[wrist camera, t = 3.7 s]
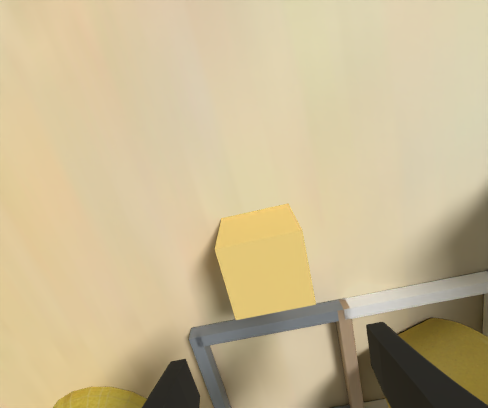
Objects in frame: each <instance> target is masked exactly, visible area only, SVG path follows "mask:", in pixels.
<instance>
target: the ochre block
mask: <svg viewBox="0 0 488 408" xmlns="http://www.w3.org/2000/svg"><path fill="white" fill-rule="evenodd" d="M215 252H216V256H217V259H218V262H219V266H220V269H221V272H222V276H223V279H224V282H225V286H226V289H227V292H228V296H229V299H230V302H231V306H232V309H233V312H234V316H235V319H236V320H240V319H245V318H250V317H255V316H260V315H265V314H270V313H276V312H281V311H286V310H291V309H296V308H301V307H306V306H311V305H316V302H315V296H314V291H313V285H312V280H311V275H310V269H309V264H308V259H307V253H306V248H305V242H304V237H303V232H302V229H301V227H300V225H299V223H298V221H297V219H296V217H295V215H294V214H293V212H292V210H291V208H290V206H289V204H284V205H279V206H275V207H270V208H266V209H261V210H257V211H252V212H248V213H243V214H239V215H234V216H230V217H226V218H222V219H221V223H220V228H219V232H218V236H217V241H216V245H215Z"/></svg>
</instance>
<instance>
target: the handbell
mask: <svg viewBox="0 0 488 408" xmlns="http://www.w3.org/2000/svg"><path fill="white" fill-rule="evenodd" d="M146 400H147V399H146V398H144V397H142V396H140V395H138V394H136V393H134V392H131V391H127V390H123V389H118V388H114V387H88V388H85V389H81V390H77V391H73V392H71V393H69V394H68V395H66V396H65V397H63V398H61V399H60V400H58V401H57V403H56V404H55V406H54V407H53V408H142V406H143V405H144V403H145V402H146Z"/></svg>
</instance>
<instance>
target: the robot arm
mask: <svg viewBox="0 0 488 408" xmlns="http://www.w3.org/2000/svg"><path fill="white" fill-rule="evenodd" d="M366 328H367V336H368V343H369V351H370V359H371V366H372V368H373V370H374V373H375V375H376V377H377V380H378V382H379V384H380V386H381V389H382V391H383V393H384V395H385V397H386V399H387V401H388V403H389V405H390V406H391V408H488V405H487V404H486V403H484V402H483V401H481V400H480V399H478V398H477V397H476V396H474V395H473V394H471V393H470V392H469V391H467V390H466V389H465V388H463V387H462V386H460V385H459V384H458V383H456V382H455V381H454V380H452V379H451V378H450V377H448V376H447V375H446V374H445V373H443V372H442V371H441V370H439V369H438V368H437V367H436V366H434V365H433V364H432V363H431V362H429V361H428V360H427V359H426V358H424V357H423V356H422V355H421V354H420V353H418V352H417V351H416V350H415V349H414V348H412V347H411V346H410V345H409V344H408V343H407V342H405V341H404V340H403V339H402V338H401V337H400V336H399V335H397V334H396V333H395V332H394V331H393V330H392V329H391V328H390V327H388V326H387V325H386V324H385V323H383V322H379V323H373V324H368V325H366ZM199 403H200V395H199V392H198V390H197V387H196V385H195V382H194V379H193V377H192V374H191V372H190V369H189V367H188V364H187V362H186V359H182V360H177V361H172V362H170V364H169V365H168V367H167V368H166V370H165V372H164V373H163V375H162V376H161V378H160V380H159V381H158V383H157V384H156V386H155V388H154V389H153V391H152V392H151V394H150V396H149V397H148V399H147V400H146V402H145V403H144V405H143V406H142V408H199Z"/></svg>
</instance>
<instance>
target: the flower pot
mask: <svg viewBox="0 0 488 408" xmlns="http://www.w3.org/2000/svg"><path fill="white" fill-rule="evenodd" d="M398 335H399V336H400V337H401V338H402V339H403V340H404V341H405V342H407V343H408V344H409V345H410V346H411V347H412V348H414V349H415V350H416V351H417V352H418V353H420V354H421V355H422V356H423V357H424V358H426V359H427V360H428V361H429V362H431V363H432V364H433V365H434V366H436V367H437V368H438V369H439V370H441V371H442V372H443V373H445V374H446V375H447V376H448V377H450V378H451V379H452V380H454V381H455V382H456V383H458V384H459V385H460V386H462V387H463V388H465V389H466V390H467V391H469V392H470V393H471V394H473V395H474V396H476V397H477V398H478V399H480V400H481V401H483V402H484V403H486V404H487V405H488V337H487V336H485V335H483V334H482V333H480V332H478V331H476V330H474V329H472V328H470V327H468V326H465V325H463V324H460V323H457V322H454V321H450V320H445V319H439V318H431V319H428V320H426V321H424V322H422V323H420V324H418V325H416V326H415V327H413V328H411V329H409V330H407V331H405V332H403V333H400V334H398ZM384 396H385V395H384ZM385 398H386V397H385ZM386 401H387V399H386ZM387 404H388V407H389V408H391V406H390V405H389V403H388V401H387Z"/></svg>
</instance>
